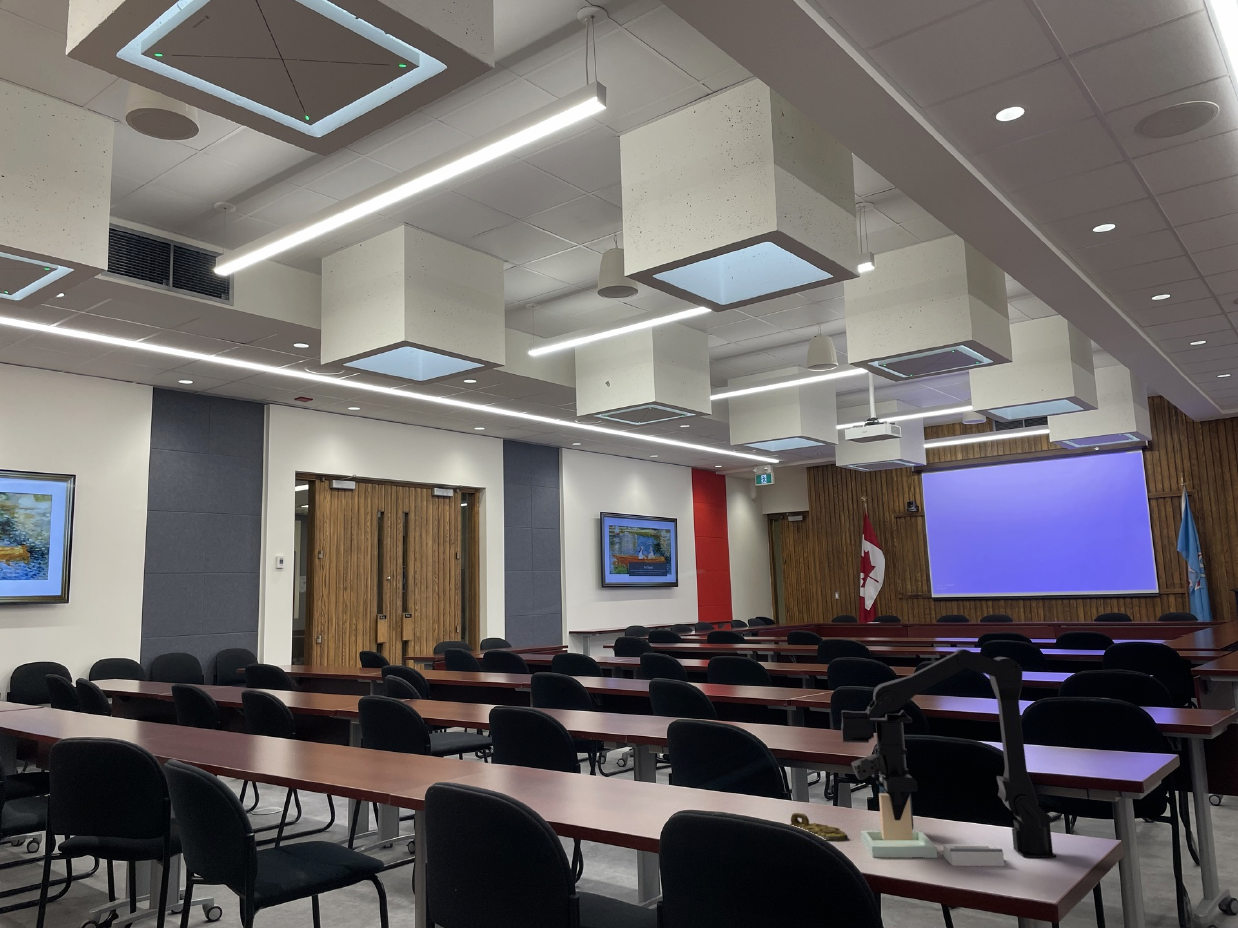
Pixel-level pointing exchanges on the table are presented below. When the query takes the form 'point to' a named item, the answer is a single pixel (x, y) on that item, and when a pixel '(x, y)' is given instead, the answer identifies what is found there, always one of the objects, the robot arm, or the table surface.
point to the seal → (818, 828)
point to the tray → (899, 845)
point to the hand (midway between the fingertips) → (896, 818)
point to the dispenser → (973, 855)
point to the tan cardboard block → (891, 826)
